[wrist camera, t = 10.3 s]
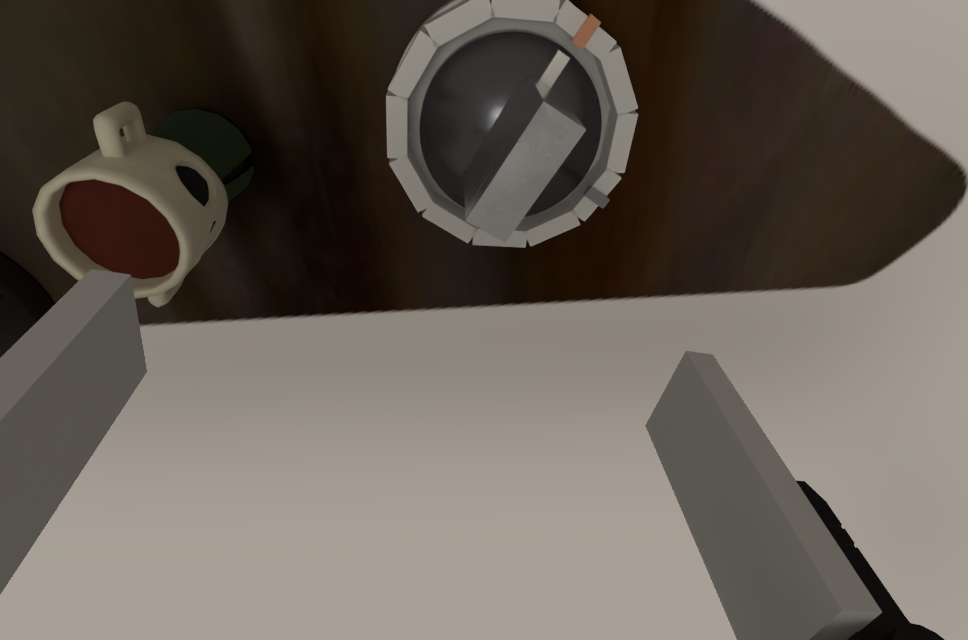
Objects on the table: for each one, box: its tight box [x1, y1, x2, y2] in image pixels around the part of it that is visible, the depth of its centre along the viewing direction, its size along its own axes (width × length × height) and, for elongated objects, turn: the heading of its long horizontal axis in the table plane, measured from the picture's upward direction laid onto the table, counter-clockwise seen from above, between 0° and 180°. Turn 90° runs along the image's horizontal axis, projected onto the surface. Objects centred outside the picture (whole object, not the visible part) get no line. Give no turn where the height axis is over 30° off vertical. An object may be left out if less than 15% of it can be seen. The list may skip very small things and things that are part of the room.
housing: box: [386, 0, 638, 248], centre depth 35 cm, size 15×15×5 cm
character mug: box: [32, 102, 255, 307], centre depth 32 cm, size 11×7×13 cm, turn 175°
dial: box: [419, 29, 602, 243], centre depth 31 cm, size 11×11×8 cm
